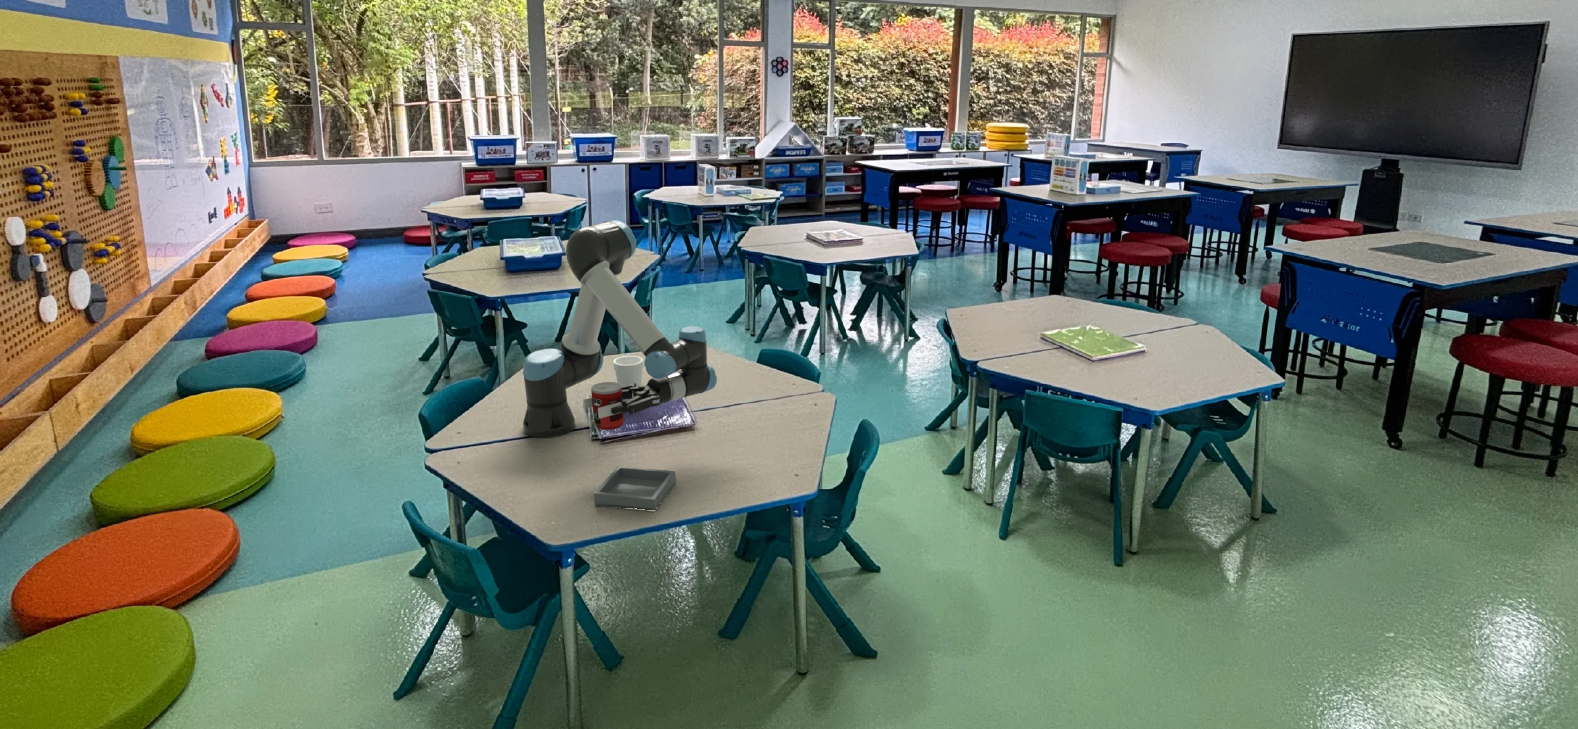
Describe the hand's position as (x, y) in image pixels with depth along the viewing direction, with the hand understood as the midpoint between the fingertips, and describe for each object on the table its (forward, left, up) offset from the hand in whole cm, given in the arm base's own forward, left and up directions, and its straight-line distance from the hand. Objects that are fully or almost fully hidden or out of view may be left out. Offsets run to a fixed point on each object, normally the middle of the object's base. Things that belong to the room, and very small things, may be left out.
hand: (591, 408), depth 243 cm
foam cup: (-11, +53, -19) cm, 57 cm away
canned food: (+3, +4, -6) cm, 8 cm away
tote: (+15, -10, -19) cm, 26 cm away
